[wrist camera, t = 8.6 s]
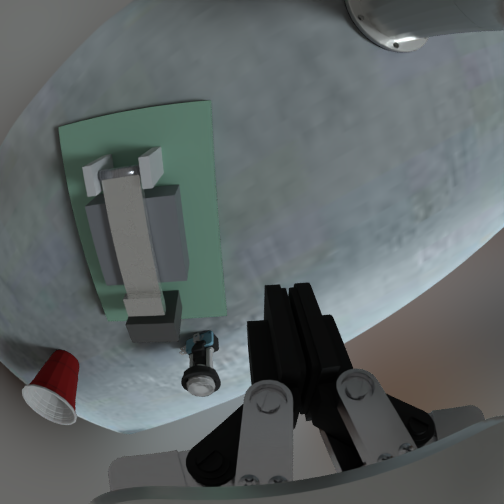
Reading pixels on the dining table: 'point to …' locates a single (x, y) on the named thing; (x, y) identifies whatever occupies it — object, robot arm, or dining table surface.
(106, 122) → the board
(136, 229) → the retention strap
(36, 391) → the plastic cup
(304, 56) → the dining table surface
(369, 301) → the dining table surface
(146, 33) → the dining table surface
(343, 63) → the dining table surface
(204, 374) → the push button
